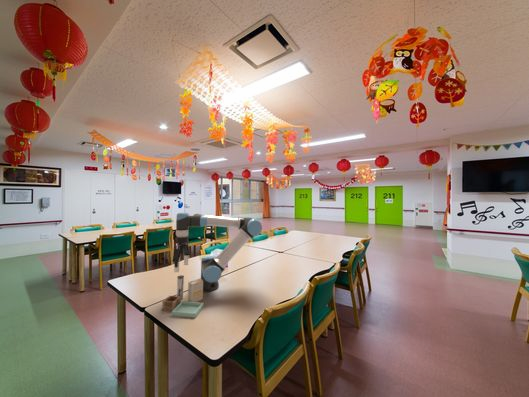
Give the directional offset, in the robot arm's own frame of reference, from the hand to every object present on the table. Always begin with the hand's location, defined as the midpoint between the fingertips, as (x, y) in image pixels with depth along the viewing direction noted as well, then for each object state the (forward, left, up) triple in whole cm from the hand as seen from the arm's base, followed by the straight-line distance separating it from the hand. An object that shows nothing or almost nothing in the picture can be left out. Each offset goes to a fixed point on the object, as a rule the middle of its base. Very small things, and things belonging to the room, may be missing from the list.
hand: (181, 268), depth 133 cm
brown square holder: (+9, -1, -21) cm, 23 cm away
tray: (+12, +11, -21) cm, 27 cm away
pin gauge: (-1, -1, -21) cm, 21 cm away
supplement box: (0, +10, -21) cm, 23 cm away
